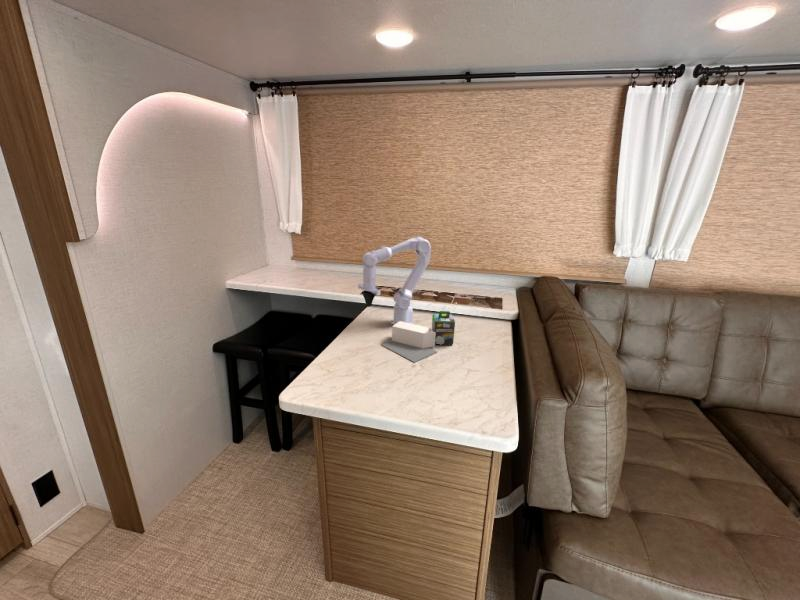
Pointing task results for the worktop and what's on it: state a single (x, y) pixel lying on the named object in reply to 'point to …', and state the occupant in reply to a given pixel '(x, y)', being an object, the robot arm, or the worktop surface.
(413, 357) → the mat
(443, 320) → the chalk box
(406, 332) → the cream plain cuboid
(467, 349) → the worktop surface
